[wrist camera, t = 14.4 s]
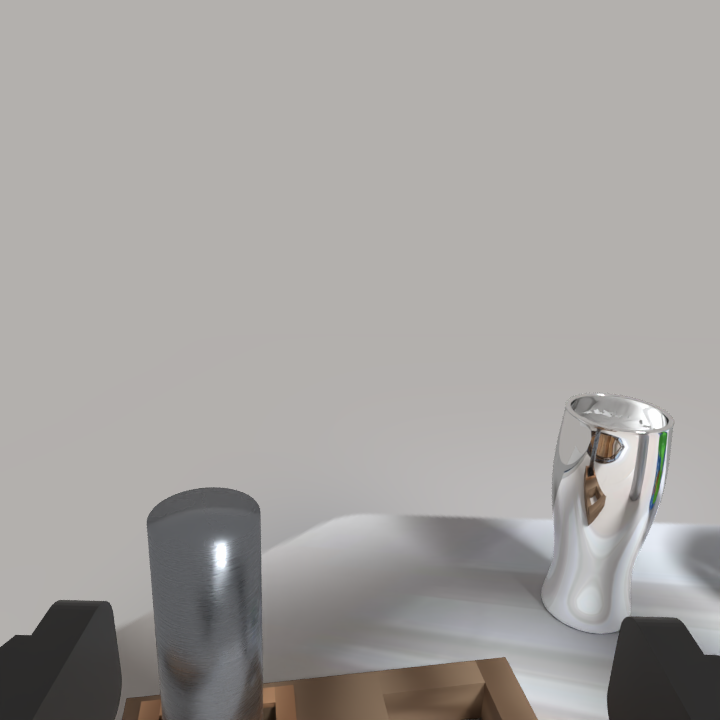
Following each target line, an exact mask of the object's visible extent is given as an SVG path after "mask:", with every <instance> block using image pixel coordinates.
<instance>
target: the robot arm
mask: <svg viewBox="0 0 720 720" xmlns="http://www.w3.org/2000/svg"><path fill="white" fill-rule="evenodd" d="M121 685H122V677H121V668H120V661H119V653H118V646H117V638H116V631H115V624H114V616H113V610H112V607H111V605H110V603H109V602H107V601H77V600H59V601H57V602H55V603H54V604H53V605H52V606H51V607H50V609H49V610H48V612H47V613H46V614H45V616H44V618H43V619H42V620H41V622H40V623H39V625H38V626H37V628H36V629H35V631H34V632H33V633H32V635H15V636H14V637H13V638H11V639H10V640H9V641H8V642H6V643H5V644H4V645H3V646H1V647H0V720H114V719H115V716H116V713H117V710H118V706H119V701H120V695H121ZM607 706H608V715H609V720H720V656H719V655H704V654H703V652H702V651H701V649H700V648H699V646H698V645H697V643H696V641H695V640H694V638H693V637H692V635H691V634H690V632H689V631H688V629H687V628H686V626H685V625H684V624H683V623H682V622H681V621H680V620H679V619H677V618H668V617H625V618H624V619H623V621H622V623H621V627H620V631H619V636H618V641H617V646H616V651H615V656H614V661H613V666H612V671H611V676H610V682H609V687H608V693H607Z"/></svg>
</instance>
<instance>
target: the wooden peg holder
mask: <svg viewBox="0 0 720 720" xmlns="http://www.w3.org/2000/svg"><path fill="white" fill-rule="evenodd" d="M480 717H481V719H482V720H538V719H537V717H536V715H535V713H534V712H533V710H532V708H531V706H530V704H529V702H528V700H527V698H526V696H525V694H524V692H523V690H522V688H521V686H520V685H519V683H518V681H517V679H516V677H515V675H514V673H513V671H512V669H511V667H510V665H509V663H508V661H507V660H506V658H505V657H502V658H493V659H484V660H475V661H466V662H456V663H447V664H438V665H429V666H420V667H411V668H401V669H392V670H383V671H374V672H365V673H356V674H346V675H337V676H328V677H319V678H310V679H300V680H291V681H282V682H273V683H264V684H263V720H465V719H473V718H480ZM122 720H162V708H161V695H154V696H144V697H135V698H127V699H126V703H125V708H124V713H123V717H122Z"/></svg>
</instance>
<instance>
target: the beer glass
mask: <svg viewBox="0 0 720 720" xmlns="http://www.w3.org/2000/svg"><path fill="white" fill-rule="evenodd" d="M673 426H674V419H673V417H672V416H671V415H670V414H669V413H668V412H667V411H665V410H664V409H662V408H660V407H658V406H656V405H654V404H652V403H649V402H646V401H643V400H640V399H636V398H632V397H628V396H623V395H616V394H608V393H585V394H579V395H575V396H573V397H571V398H569V399H568V400H567V401H566V407H565V412H564V416H563V420H562V424H561V428H560V432H559V436H558V440H557V445H556V451H555V457H554V464H553V473H552V509H553V528H554V550H553V558H552V562H551V566H550V568H549V571H548V573H547V576H546V578H545V581H544V583H543V586H542V589H541V598H542V602H543V604H544V606H545V607H546V609H547V610H548V611H549V612H550V613H551V614H552V615H553V616H554V617H555V618H557V619H558V620H559V621H561V622H562V623H564V624H566V625H568V626H570V627H572V628H575V629H577V630H580V631H584V632H588V633H595V634H607V633H613V632H616V631H619V630H620V627H621V623H622V621H623V619H624V618H625V617H630V615H631V593H630V588H631V578H632V573H633V569H634V566H635V563H636V560H637V558H638V555H639V553H640V551H641V548H642V546H643V544H644V542H645V540H646V537H647V535H648V533H649V531H650V528H651V526H652V524H653V522H654V519H655V516H656V514H657V511H658V508H659V506H660V503H661V499H662V496H663V492H664V488H665V484H666V479H667V473H668V467H669V460H670V451H671V442H672V432H673Z"/></svg>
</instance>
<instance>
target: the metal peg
mask: <svg viewBox="0 0 720 720" xmlns="http://www.w3.org/2000/svg"><path fill="white" fill-rule="evenodd" d="M260 524H261V523H260V508H259V505H258V504H257V502H256V501H255V500H254V499H253V498H252V497H250V496H249V495H247V494H245V493H243V492H240V491H237V490H233V489H227V488H214V487H213V488H199V489H193V490H189V491H184V492H181V493H178V494H175V495H173V496H171V497H169V498H167V499H165V500H163V501H162V502H160V503H159V504H158V505H157V506H155V507H154V508H153V510H152V511H151V512H150V514H149V516H148V518H147V532H148V543H149V557H150V569H151V581H152V595H153V607H154V620H155V633H156V645H157V658H158V670H159V683H160V695H161V708H162V720H263V658H262V590H261V526H260Z"/></svg>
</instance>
